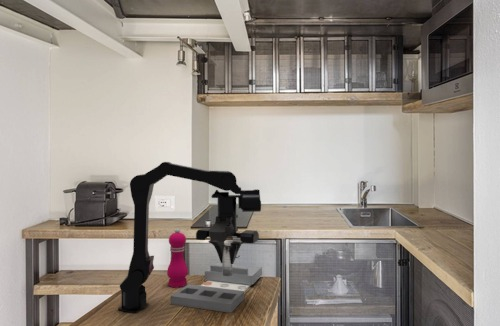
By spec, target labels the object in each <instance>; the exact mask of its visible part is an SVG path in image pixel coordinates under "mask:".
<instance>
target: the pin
mask: <svg viewBox="0 0 500 326" xmlns="http://www.w3.org/2000/svg"><path fill="white" fill-rule="evenodd" d="M222 275H223V276H231V275H232V264H231V245H230V243H224V245H222Z"/></svg>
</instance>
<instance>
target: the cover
mask: <svg viewBox="0 0 500 326" xmlns="http://www.w3.org/2000/svg"><path fill="white" fill-rule="evenodd" d="M261 276H263V266H259V265H258V266H256V265H247V264H236V263H233V264H232V275H231V276H223V275H222V263H221V262H216V263H215V264H211V265H210V267H209V268H207V269H206V270H204V281H205V280H206V281H208V280H213V281H222V282H230V283H239V284H248V285H251V286H252V285H254V284H255V283H256V282H257V281H258V280H259V279H260V278H261Z"/></svg>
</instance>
